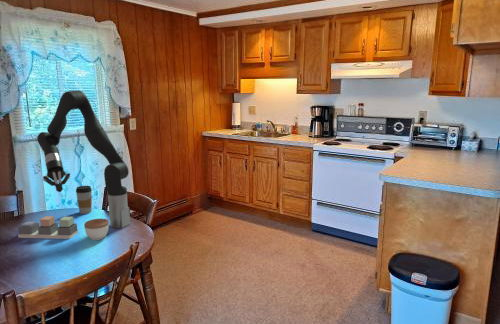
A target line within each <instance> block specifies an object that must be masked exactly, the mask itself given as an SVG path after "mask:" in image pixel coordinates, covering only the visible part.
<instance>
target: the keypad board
mask: <svg viewBox="0 0 500 324" xmlns="http://www.w3.org/2000/svg"><path fill="white" fill-rule="evenodd" d="M17 229H18V234H17V236H18V238H19V239H20V238H22V239H59V240H63V239H65V240H70V239H71V238H73V237H74V236H76V235H77V234H78V233H79V229H78V223H74V224H73V225H71V226H70V227H60V226H59V223H58V222H55V223H54V224H53V225H51V226H50V227H48V226H41V225H40V222H36V224H35V225H33V226H31V227H21V225H20V226H18V228H17Z"/></svg>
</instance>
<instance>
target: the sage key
mask: <svg viewBox="0 0 500 324" xmlns="http://www.w3.org/2000/svg"><path fill="white" fill-rule="evenodd" d="M73 224H75V222H74V216H63V217H61V218H60V219H59V227H70V226H71V225H73Z"/></svg>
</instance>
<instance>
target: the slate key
mask: <svg viewBox="0 0 500 324" xmlns="http://www.w3.org/2000/svg"><path fill="white" fill-rule="evenodd" d="M36 223H37V221H26V222H24V223H22V224H21V225H20V226H21V227H31V226H33V225H35V224H36Z"/></svg>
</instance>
